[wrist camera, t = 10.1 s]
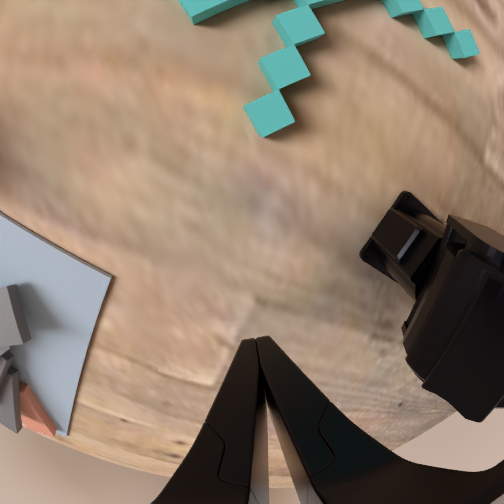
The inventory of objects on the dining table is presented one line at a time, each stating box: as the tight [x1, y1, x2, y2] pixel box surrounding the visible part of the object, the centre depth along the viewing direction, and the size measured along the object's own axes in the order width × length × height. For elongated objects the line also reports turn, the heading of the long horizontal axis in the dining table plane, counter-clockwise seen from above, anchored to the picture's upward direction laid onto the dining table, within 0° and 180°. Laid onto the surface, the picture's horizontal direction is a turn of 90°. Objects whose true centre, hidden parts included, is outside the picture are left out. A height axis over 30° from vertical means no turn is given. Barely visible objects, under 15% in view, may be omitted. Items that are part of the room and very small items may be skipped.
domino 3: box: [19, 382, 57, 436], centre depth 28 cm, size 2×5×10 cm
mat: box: [0, 212, 112, 437], centre depth 24 cm, size 16×32×1 cm, turn 149°
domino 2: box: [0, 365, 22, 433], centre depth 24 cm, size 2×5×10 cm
